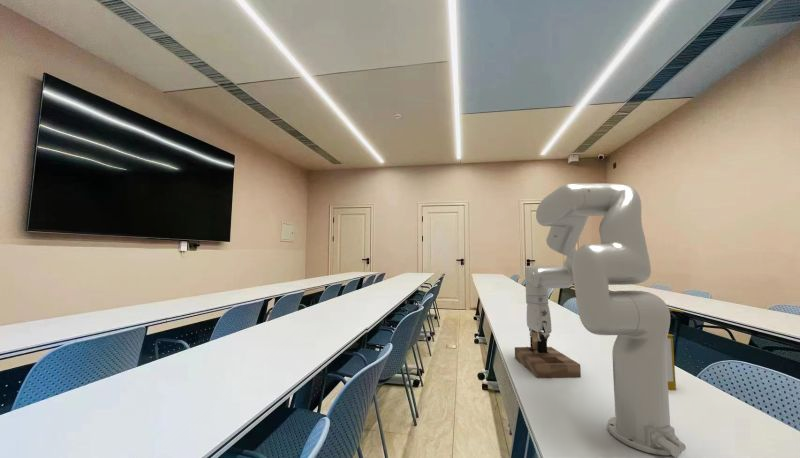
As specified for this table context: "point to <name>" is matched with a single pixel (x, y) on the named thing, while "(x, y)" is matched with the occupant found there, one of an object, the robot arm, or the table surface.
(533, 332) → the peg
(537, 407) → the table surface
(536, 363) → the board
